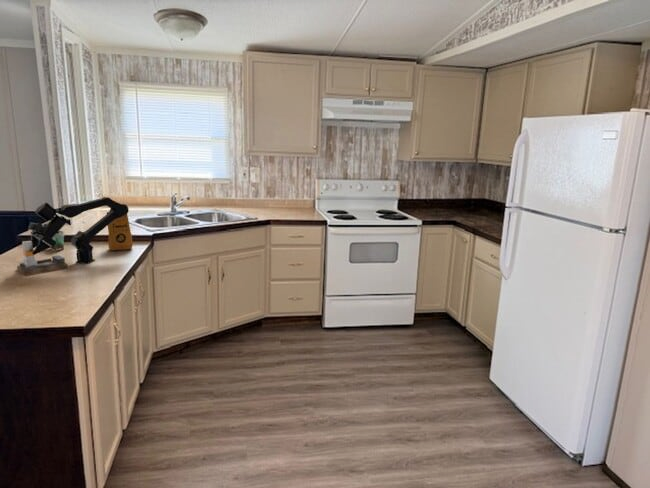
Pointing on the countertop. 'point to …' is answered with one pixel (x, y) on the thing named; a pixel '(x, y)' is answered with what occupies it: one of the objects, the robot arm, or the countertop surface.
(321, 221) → the countertop surface
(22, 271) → the base
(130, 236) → the coffee package
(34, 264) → the sliding jaw
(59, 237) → the food container
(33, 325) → the countertop surface
